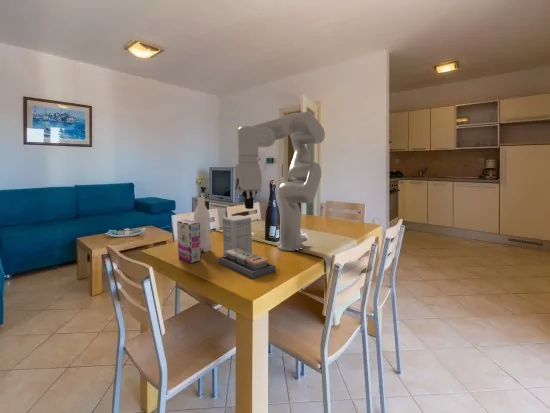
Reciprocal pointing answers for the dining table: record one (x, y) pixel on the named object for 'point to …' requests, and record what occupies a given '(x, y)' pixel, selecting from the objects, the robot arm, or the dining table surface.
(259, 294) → the dining table surface
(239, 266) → the gray rectangular tray
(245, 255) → the tile
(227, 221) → the supplement box
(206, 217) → the water bottle
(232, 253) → the tile
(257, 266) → the tile
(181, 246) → the candy bar box
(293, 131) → the robot arm
